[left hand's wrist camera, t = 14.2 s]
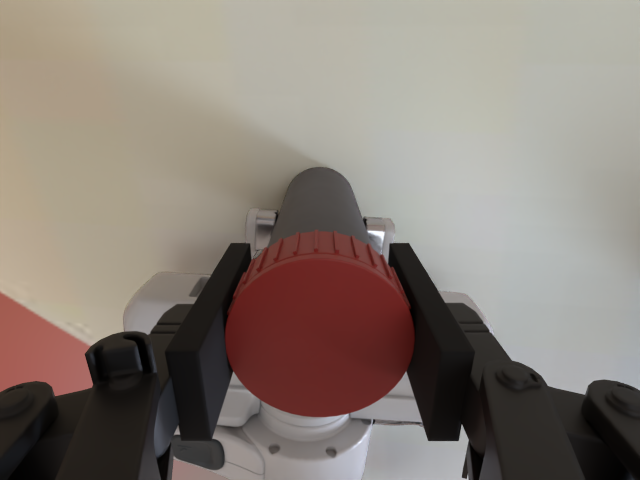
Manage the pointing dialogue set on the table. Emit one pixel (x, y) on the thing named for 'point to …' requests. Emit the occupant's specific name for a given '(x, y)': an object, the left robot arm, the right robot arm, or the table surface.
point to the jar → (319, 207)
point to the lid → (319, 326)
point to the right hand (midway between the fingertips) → (320, 215)
